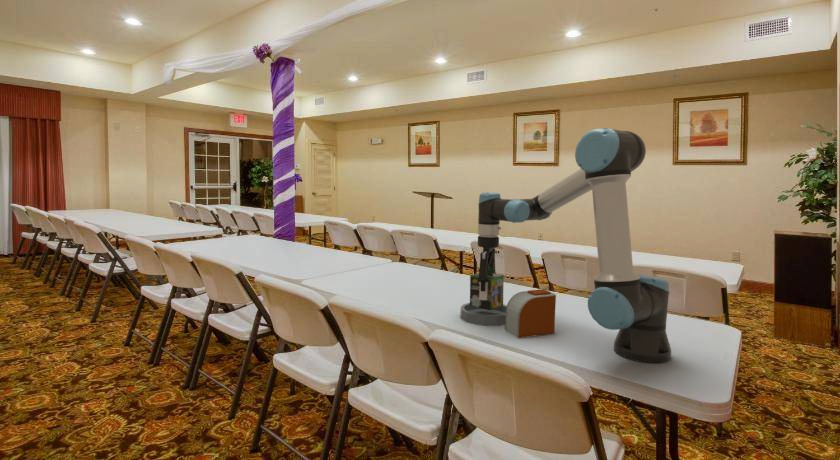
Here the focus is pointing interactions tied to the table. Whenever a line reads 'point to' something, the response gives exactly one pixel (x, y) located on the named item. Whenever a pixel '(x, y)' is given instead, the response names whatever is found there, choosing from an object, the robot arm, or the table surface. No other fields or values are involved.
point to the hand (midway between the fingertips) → (486, 296)
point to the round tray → (483, 315)
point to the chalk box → (492, 293)
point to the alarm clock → (531, 313)
